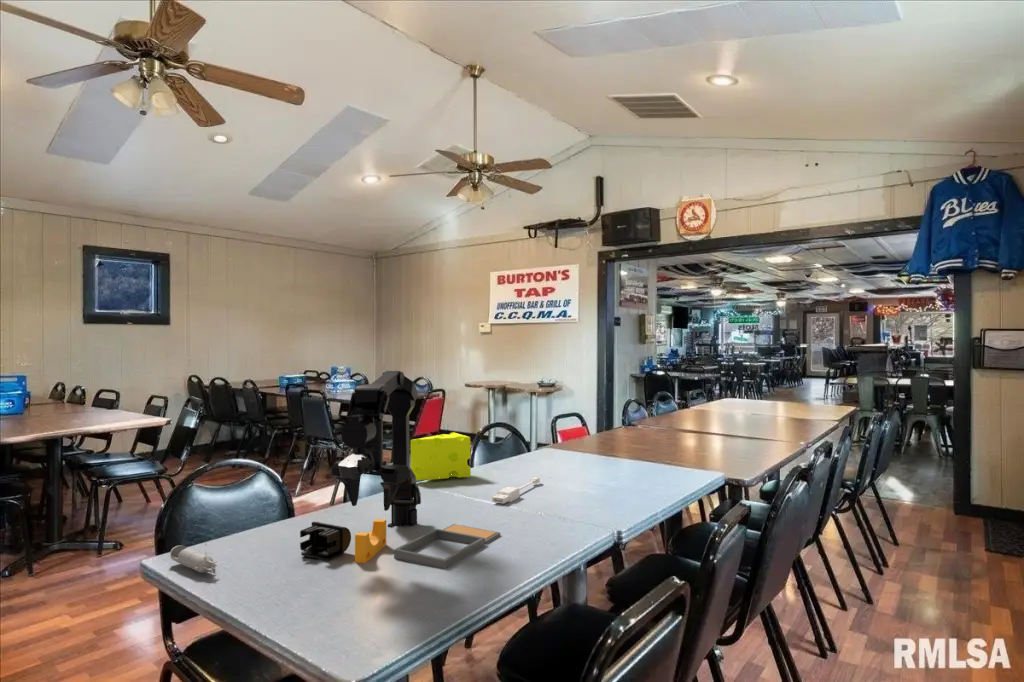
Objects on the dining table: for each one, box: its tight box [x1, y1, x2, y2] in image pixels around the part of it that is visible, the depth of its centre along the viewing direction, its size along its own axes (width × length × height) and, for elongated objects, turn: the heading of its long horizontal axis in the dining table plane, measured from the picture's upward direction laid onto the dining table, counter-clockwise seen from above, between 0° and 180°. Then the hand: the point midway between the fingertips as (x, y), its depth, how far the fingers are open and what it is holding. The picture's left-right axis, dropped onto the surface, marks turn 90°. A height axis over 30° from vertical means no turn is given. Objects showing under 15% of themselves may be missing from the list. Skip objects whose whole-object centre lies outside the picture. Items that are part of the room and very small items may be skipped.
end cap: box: [299, 521, 352, 562], centre depth 138 cm, size 10×7×7 cm
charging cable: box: [491, 476, 541, 504], centre depth 192 cm, size 5×31×3 cm, turn 153°
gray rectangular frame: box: [393, 528, 486, 570], centre depth 138 cm, size 15×17×2 cm
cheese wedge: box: [410, 431, 472, 481], centre depth 216 cm, size 19×20×15 cm
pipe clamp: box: [354, 518, 387, 564], centre depth 138 cm, size 12×4×6 cm, turn 170°
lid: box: [442, 523, 501, 545], centre depth 149 cm, size 15×7×1 cm, turn 61°
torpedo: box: [169, 542, 220, 575], centre depth 130 cm, size 18×5×7 cm, turn 56°
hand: (370, 508), depth 132 cm, fingers open, 9 cm apart
